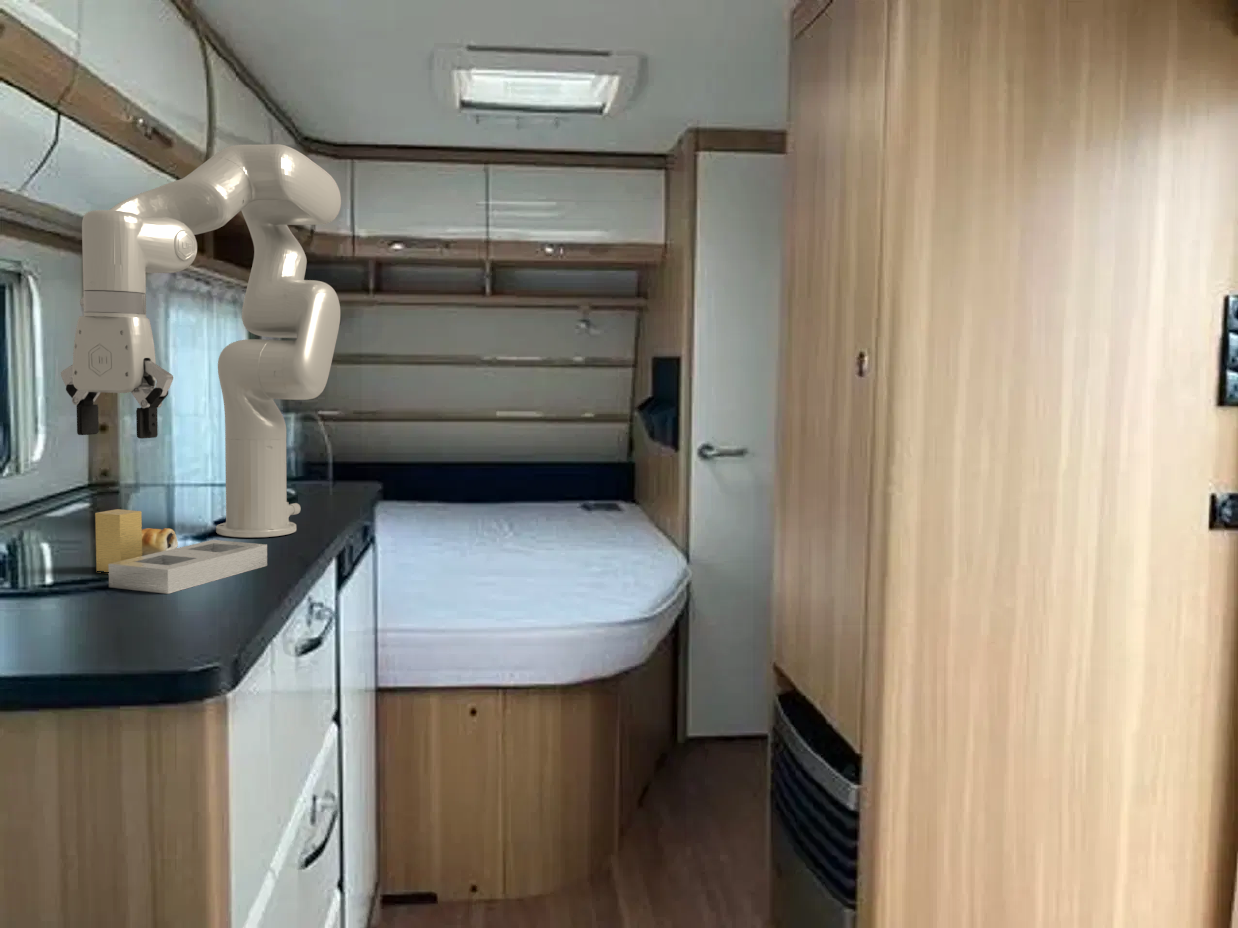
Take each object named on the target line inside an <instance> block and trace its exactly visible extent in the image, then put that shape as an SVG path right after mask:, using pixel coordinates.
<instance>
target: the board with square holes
mask: <svg viewBox="0 0 1238 928" xmlns="http://www.w3.org/2000/svg"><path fill="white" fill-rule="evenodd" d="M108 565H109V573H108V588H111V589H122V590H130V591H131V590H132V591H140V592H149V593H156V594H157V593H159V594H166V595H169V594H173V593H175V592H179V591H184V590H185V589H186V590H187V589H190V588H192V587H193V588H194V587H197V586H200V585H204V584H207V583H211V582H212V583H213V582H214V581H219V580H222V579H225V578H229V577H232V576H235V575H236V576H237V575H239V574H243V573H246V572H250V571H253V570H257V569H261V568H264V567H267V566H268V544H267V543H266V544H264V543H263V544H262V543H254V542H253V543H252V542H241V541H233V540H232V541H231V540H220V539H211V540H206V541H202V542H197V543H193V544H189V545H185V546H181V547H180V546H179V547H177V548H175V549H171V550H166V551H162V552H158V553H153V554H149V555H142V556H140V557H136V558H132V559H127V560H123V561H118V562H114V563H110V564H108Z"/></svg>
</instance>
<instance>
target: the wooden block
mask: <svg viewBox="0 0 1238 928" xmlns="http://www.w3.org/2000/svg"><path fill="white" fill-rule="evenodd" d="M94 517H95V557H96V559H95V561H96V562H95V563H96V567H95V569H96V572H97V571H104V572H109V565H108V564H110V563H114V562H118V561H123V560H127V559H132V558H136V557H140V556H143V555H142V529H143V528H142V527H143V525H142V523H143V522H142V520H143V519H142V517H143V516H142V511H141V510H133V509H132V510H131V509H130V510H129V509H119V508H117V509H111V510H105V511H100V512H98V511H97V512H95V513H94Z"/></svg>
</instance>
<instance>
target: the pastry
mask: <svg viewBox="0 0 1238 928" xmlns="http://www.w3.org/2000/svg"><path fill="white" fill-rule="evenodd" d="M178 543H179V541H178V538H177V534H176V532H175V530H174V529H172V528H169V527H168V528H166V527H164V528H163V529H161V528H149V527H147V528H142V556H145V555H149V554H153V553H158V552H162V551H166V550H171V549H175V548H179V547H178V546H179V544H178Z"/></svg>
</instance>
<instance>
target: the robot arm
mask: <svg viewBox="0 0 1238 928" xmlns="http://www.w3.org/2000/svg"><path fill="white" fill-rule="evenodd" d="M341 197H342V196H341V191H340V188H339V186H338V184H337V182H336V180H335V179H334V178H333V176H332V175H331V174H329V172H327V171H326V170H325V169H324V168H322V167H321V166H320V165H318V164H317V163H315V162H314V161H313V160H311V159H310V158H309V157H308V156H306V155H305V154H303V153H302V152H300V151H298V150H297V149H295V148H293V147H290V146H288V145H284V144H280V143H278V144H277V143H274V144H273V143H272V144H269V143H268V144H233V145H230V146H227V147H224V148H223V149H221V150H219V151H218V152H216V153H215V154H214V155H213V156H211V157H210V158H208V159H207V160H206V161H204V163H202V164H201V165H199V166H197V168H195V169H194V170H193V171H192V172H190V173H189V174H187V175H186V176H184V177H182V178H180V179H177V180H174V181H170V182H168V183H166V184H163V185H160V186H157V187H154V188H151V189H150V190H146V191H143V192H141V193H138V194H135V195H132V196H130V197H128V198H125V199H124V200H122V201H119V202H118V203H117V204H115V205H114V206H112V207H111V208H110V209H96V210H90V211H88V212H86V213H85V214H84V215H83V218H82V220H81V222H82V223H81V233H82V234H81V236H82V237H81V239H82V243H81V245H82V248H81V249H82V282H83V283H82V284H83V285H82V286H83V288H82V289H83V291H82V292H83V296H82V298H80V301H79V306H80V307H81V308H83V316H80V315H79V317H78V320H77V324H76V330H75V333H74V343H73V353H72V354H73V357H72V364H70V366H68V367H66V368H65V369H63V370H61V372H60V377H61V378H62V381H63V384H64V386H66V387H65V391H66V393H67V394H68V395H69V396H70V397H71V403H72V404H73V405H75V406H76V434H77V436H87V435H88V436H89V435H98V433H99V431H100V429H99V428H100V427H99V425H100V424H99V405H98V404H96V403H95V402H96V400H97V399H98V397H99V396H100V395H101V393H106V394H107V393H108V394H109V393H112V394H126V393H130V394H132V395H133V397H134V399H135V400H136V402H137V403H138V404H139V406H140V407H136V410H135V411H136V412H135V415H136V416H135V419H136V422H135V424H136V425H135V426H136V437H137V439H155V438H157V437H158V434H159V433H158V431H159V429H158V428H159V427H158V408H161V407H162V405H163V401H164V400H165V399H166V398H167V397H168V396H169V390H170V389H171V385H172V384H173V381H174V375H173V374H171V373H170V372H169V371H167V370H166V369H164V368H163V367H162V366H159V365H158V364H156V363H157V362H156V351H155V350H156V349H155V342H154V335H153V331H152V330H153V329H152V326H151V322H150V318H147V298H146V297H147V294H146V293H147V288H146V285H147V284H146V283H147V280H146V273H148V274H172V273H178V272H181V271H184V270H186V269H187V268H189V267H190V266H191V265H192V264H193V262H194V261H195V259H196V257H197V253H198V242H197V239H196V236H197V235H200V234H204V233H208V232H211V231H212V232H213V231H215V230H218V229H220V228H221V227H224V226H225V225H226V224H227V223H228V222H230V220H232V219H233V218H234V217H235V216H236V215H237V214H238V213H240V212H241V214H242V216H243V218H244V221H245V223H246V225H247V228H248V231H249V233H250V237H251V241H252V244H253V251H254V253H253V260H252V267H251V269H250V273H249V279H248V282H247V287H246V290H245V294H244V298H243V303H242V307H241V308H242V309H241V321H242V324H243V326H244V327H245V329H246V330H247V331H248V332H250V333H251V334H253V335H256V336H258V337H265V338H276V339H263V338H262V339H260V338H259V339H258V338H257V339H255V338H250V339H240V340H236V341H233V342H231V343H229V344H228V345H226V346H225V347H224V348H223V349H222V351H220V354H219V356H218V360H217V374H218V379H219V384H220V389H221V393H222V399H223V407H224V410H223V411H224V427H225V429H224V432H225V435H224V437H225V438H224V440H225V441H224V443H225V444H224V446H225V448H224V450H225V451H224V452H225V453H224V454H225V457H224V458H225V522H223V523H220V524H217V525H216V526H215V532H216V533H217V535H220V536H224V537H231V538H269V537H271V538H272V537H279V536H285V535H290V534H294V533H296V532H297V524H296V523H295V522H293V521H290V520H289V517H290V516H293V515H298V514H299V513H301V505H300V504H299V503H297V502H295V503H290V504H289V501H288V500H287V498H288V497H287V496H288V495H287V490H288V489H287V425H286V421H285V418H284V416H283V414H282V412H281V410H280V409H279V407H278V405H277V403H276V402H275V401H274V400H290V401H292V400H295V401H296V400H299V401H304V400H305V401H306V400H307V401H308V400H312V399H316V398H317V397H319V396H320V395H321V394H322V393H323V392H324V389H325V388H326V385H327V383H328V380H329V379H328V378H329V376H330V372H331V367H332V362H333V357H334V353H335V348H336V344H337V340H338V335H339V329H340V322H341V306H340V305H341V304H340V301H339V299H340V298H339V296H338V294H337V292H336V291H335V289H334V288H333V287H332V286H331V285H330V284H328V283H327V282H324V281H320V280H316V279H315V280H313V279H312V280H311V279H309V280H308V279H305V275H306V269H307V263H308V261H307V256H306V254H305V253H306V252H305V251H304V249H303V247H302V245H301V244H300V242H299V240H298V239H297V238H296V237H295V236H294V234H293V232H292V231H291V230H290V227H289V225H290V226H319V225H320V226H322V225H327V224H330V223H331V222H333V221H334V220H335V219H336V218H337V216H338V215H339V214H340V210H341V207H342V198H341ZM195 235H196V236H195ZM277 338H278V339H277ZM279 338H280V339H279ZM283 338H284V339H285V340H283ZM286 338H287V339H291V340H286ZM292 339H295V340H292ZM94 403H95V404H94Z"/></svg>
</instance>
